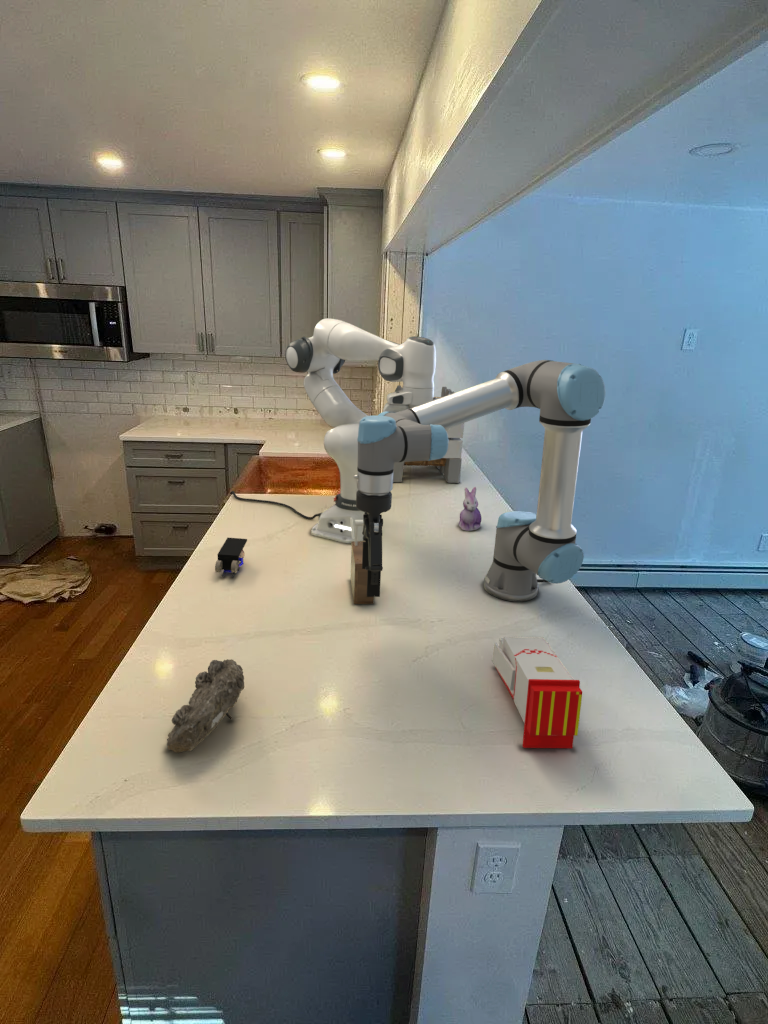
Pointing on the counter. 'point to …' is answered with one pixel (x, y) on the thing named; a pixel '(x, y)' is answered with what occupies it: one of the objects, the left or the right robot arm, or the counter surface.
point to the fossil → (206, 705)
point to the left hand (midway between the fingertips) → (415, 445)
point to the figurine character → (230, 556)
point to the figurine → (470, 512)
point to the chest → (359, 584)
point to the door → (357, 546)
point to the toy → (539, 691)
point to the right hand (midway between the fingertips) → (370, 581)
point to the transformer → (450, 461)
